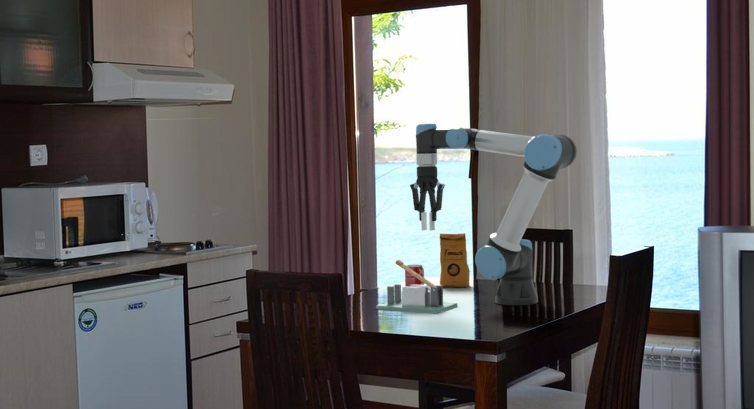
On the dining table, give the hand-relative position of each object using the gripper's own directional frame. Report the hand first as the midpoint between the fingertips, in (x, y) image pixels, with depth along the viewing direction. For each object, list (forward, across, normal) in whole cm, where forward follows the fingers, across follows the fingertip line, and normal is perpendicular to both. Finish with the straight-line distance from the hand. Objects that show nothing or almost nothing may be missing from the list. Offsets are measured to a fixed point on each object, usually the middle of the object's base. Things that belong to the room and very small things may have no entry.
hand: (428, 229), depth 340 cm
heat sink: (+25, -3, +14) cm, 29 cm away
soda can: (+27, +7, -2) cm, 28 cm away
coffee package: (+27, +9, -41) cm, 50 cm away
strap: (+15, -2, +14) cm, 21 cm away
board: (+27, -2, +14) cm, 30 cm away
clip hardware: (+27, -2, +14) cm, 30 cm away
